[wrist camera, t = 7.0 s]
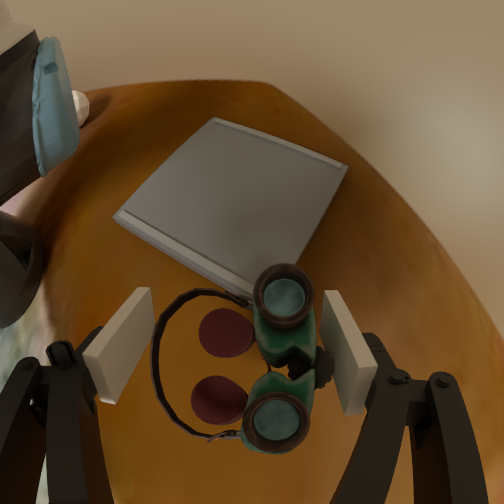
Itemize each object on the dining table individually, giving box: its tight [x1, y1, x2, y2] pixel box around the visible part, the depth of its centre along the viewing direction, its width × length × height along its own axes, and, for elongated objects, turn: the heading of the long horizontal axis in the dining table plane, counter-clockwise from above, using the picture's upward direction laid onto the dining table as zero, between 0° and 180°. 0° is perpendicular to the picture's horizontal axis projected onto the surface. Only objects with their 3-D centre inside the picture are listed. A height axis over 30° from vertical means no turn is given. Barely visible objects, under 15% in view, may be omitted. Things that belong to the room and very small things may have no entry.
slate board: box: [113, 117, 349, 305], centre depth 32 cm, size 20×20×2 cm
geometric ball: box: [72, 91, 90, 127], centre depth 39 cm, size 8×8×8 cm
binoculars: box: [150, 263, 335, 454], centre depth 14 cm, size 9×11×10 cm
